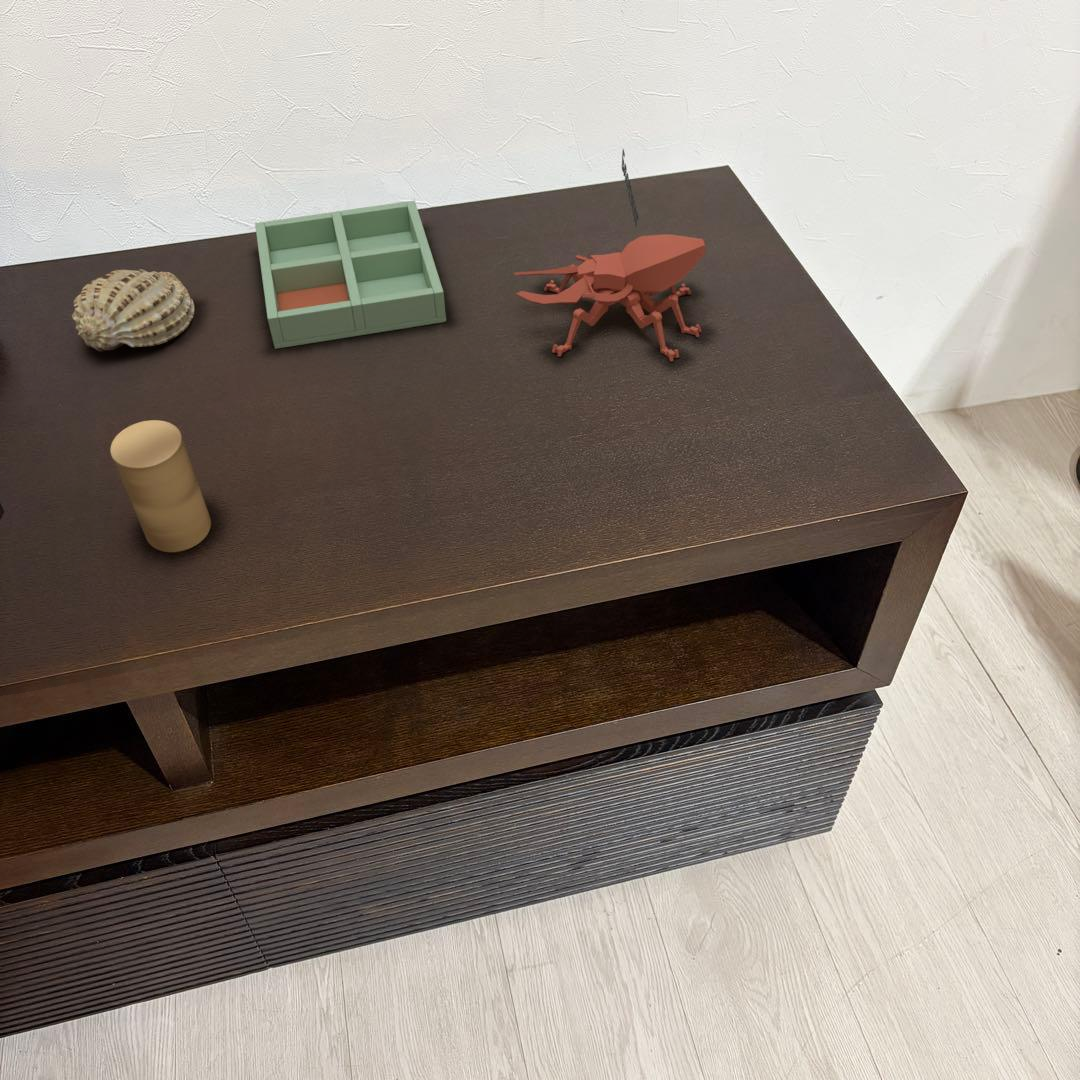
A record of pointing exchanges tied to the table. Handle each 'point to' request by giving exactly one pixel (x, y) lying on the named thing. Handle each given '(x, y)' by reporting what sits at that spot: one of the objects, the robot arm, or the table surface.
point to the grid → (348, 274)
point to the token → (161, 485)
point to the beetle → (627, 281)
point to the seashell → (132, 309)
